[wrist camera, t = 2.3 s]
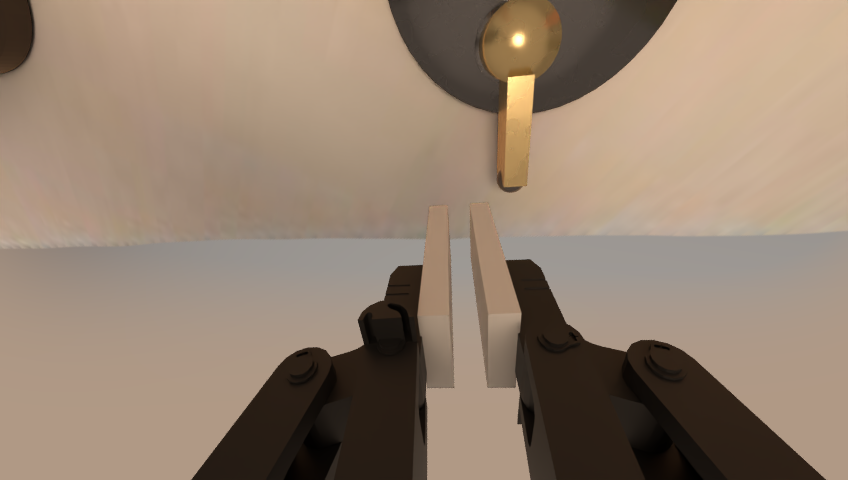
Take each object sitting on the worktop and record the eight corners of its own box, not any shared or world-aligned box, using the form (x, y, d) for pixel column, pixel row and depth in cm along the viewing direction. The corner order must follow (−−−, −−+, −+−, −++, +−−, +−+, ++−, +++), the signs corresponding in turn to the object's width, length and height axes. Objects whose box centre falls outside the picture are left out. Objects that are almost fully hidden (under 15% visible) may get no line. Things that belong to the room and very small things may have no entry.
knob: (478, 9, 23) (484, -2, 19) (548, 0, 22) (568, -12, 19) (479, 185, 30) (484, 202, 26) (533, 181, 29) (545, 198, 26)
